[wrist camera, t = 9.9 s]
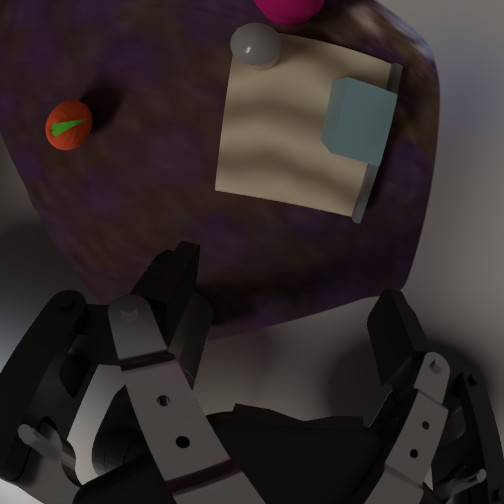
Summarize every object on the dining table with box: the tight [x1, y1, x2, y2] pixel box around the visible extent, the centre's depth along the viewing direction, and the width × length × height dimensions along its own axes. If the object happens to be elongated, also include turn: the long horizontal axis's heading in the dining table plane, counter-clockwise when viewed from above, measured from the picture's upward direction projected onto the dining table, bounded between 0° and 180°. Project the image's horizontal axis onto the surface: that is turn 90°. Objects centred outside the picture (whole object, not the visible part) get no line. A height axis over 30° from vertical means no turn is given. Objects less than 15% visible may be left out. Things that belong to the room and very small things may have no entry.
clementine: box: [46, 100, 92, 150], centre depth 26 cm, size 8×7×7 cm
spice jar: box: [231, 23, 281, 71], centre depth 20 cm, size 4×4×7 cm
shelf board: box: [215, 28, 403, 224], centre depth 27 cm, size 20×18×3 cm
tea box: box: [320, 77, 398, 167], centre depth 23 cm, size 5×7×7 cm
